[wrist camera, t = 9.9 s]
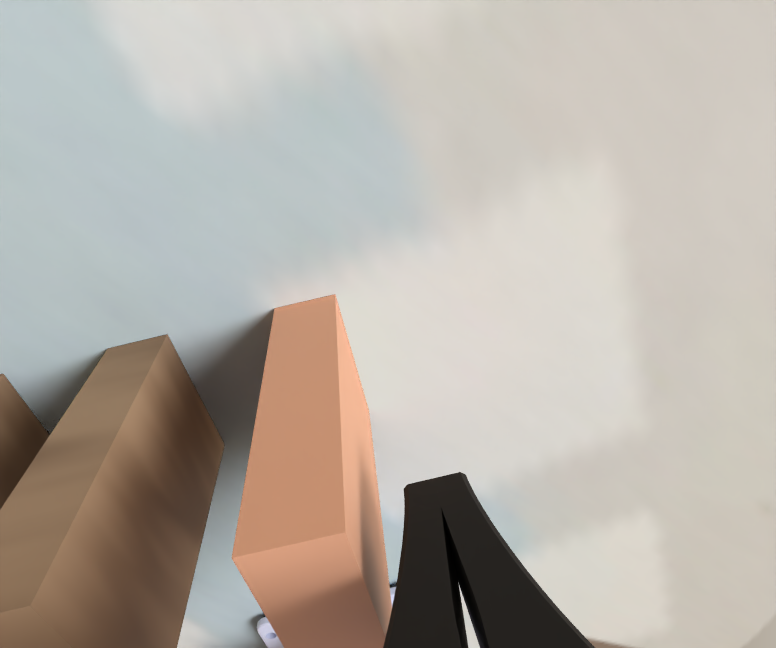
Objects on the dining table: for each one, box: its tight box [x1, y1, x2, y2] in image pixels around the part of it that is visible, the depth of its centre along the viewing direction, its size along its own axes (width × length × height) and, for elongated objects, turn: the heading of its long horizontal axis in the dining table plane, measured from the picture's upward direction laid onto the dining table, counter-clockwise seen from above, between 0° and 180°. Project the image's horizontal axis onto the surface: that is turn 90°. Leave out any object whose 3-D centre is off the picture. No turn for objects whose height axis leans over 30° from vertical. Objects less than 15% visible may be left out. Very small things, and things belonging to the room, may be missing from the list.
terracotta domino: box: [232, 295, 392, 648], centre depth 14 cm, size 5×2×9 cm, turn 12°
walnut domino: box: [0, 335, 225, 648], centre depth 14 cm, size 5×2×9 cm, turn 12°
